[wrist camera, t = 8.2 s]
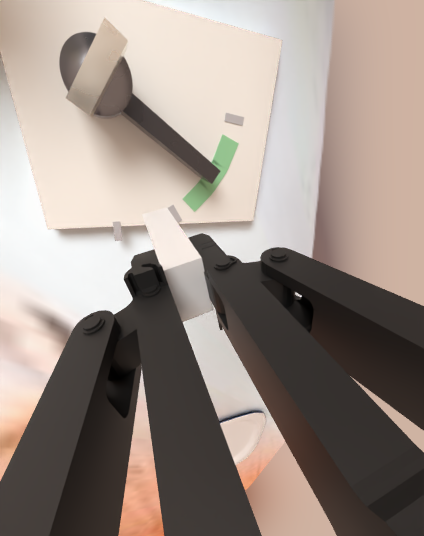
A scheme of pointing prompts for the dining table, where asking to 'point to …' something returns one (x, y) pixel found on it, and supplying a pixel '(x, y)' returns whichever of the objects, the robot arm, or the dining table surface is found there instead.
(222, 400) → the dining table surface
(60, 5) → the gauge board
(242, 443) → the plate
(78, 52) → the dark grey lever
